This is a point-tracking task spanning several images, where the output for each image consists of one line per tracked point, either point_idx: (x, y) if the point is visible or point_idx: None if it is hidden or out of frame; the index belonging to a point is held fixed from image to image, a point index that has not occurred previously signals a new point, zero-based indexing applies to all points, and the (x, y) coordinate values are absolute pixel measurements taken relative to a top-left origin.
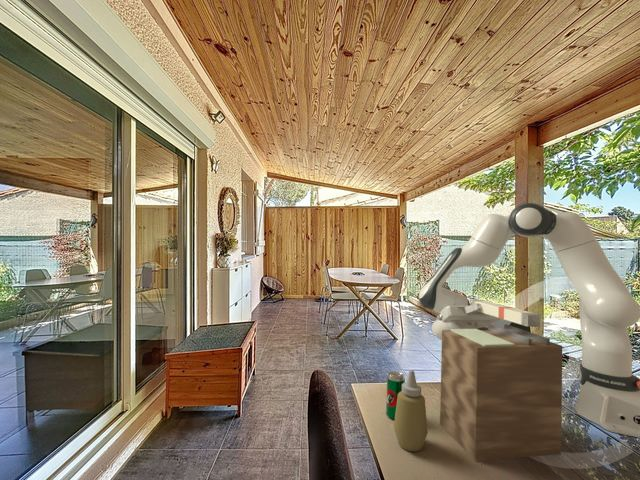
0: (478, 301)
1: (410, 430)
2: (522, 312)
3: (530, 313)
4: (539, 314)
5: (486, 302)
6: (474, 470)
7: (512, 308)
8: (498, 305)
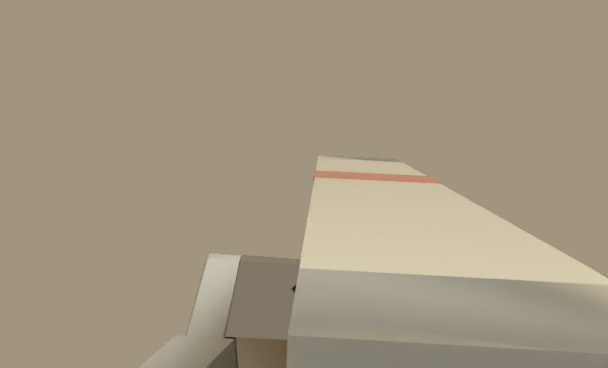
0: (553, 262)
1: None
2: (384, 162)
3: (353, 159)
4: (320, 155)
5: (417, 229)
6: None
7: (347, 172)
8: (382, 190)
